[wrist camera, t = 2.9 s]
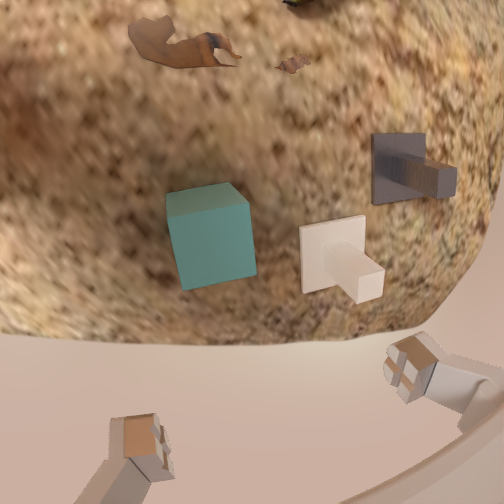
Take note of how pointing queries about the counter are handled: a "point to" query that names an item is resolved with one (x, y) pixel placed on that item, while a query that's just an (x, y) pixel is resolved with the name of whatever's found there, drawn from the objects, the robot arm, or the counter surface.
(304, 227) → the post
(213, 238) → the teal rectangular block
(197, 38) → the banana
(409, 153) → the post
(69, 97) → the counter surface
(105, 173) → the counter surface
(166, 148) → the counter surface
